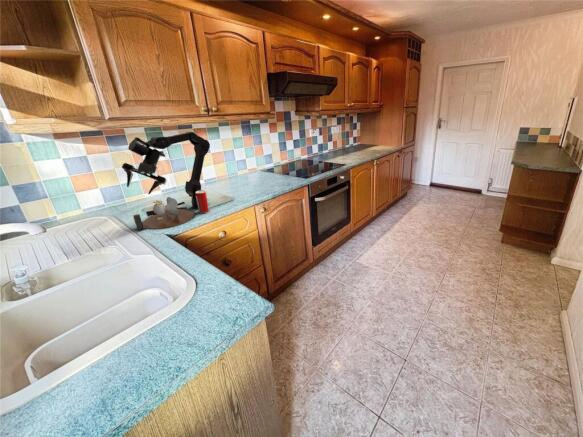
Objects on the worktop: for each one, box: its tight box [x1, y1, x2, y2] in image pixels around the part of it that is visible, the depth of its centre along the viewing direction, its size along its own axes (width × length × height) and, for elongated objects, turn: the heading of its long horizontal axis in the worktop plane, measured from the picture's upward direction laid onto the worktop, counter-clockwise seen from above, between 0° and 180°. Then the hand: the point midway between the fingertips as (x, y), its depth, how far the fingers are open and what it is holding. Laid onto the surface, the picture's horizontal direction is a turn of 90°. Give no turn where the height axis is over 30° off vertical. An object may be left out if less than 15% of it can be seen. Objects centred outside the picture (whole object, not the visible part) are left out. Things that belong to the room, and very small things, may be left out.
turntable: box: [132, 209, 195, 232], centre depth 134 cm, size 29×25×7 cm
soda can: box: [196, 189, 210, 214], centre depth 141 cm, size 6×6×12 cm
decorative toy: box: [145, 196, 188, 220], centre depth 135 cm, size 12×10×20 cm
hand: (138, 190), depth 122 cm, fingers open, 9 cm apart
